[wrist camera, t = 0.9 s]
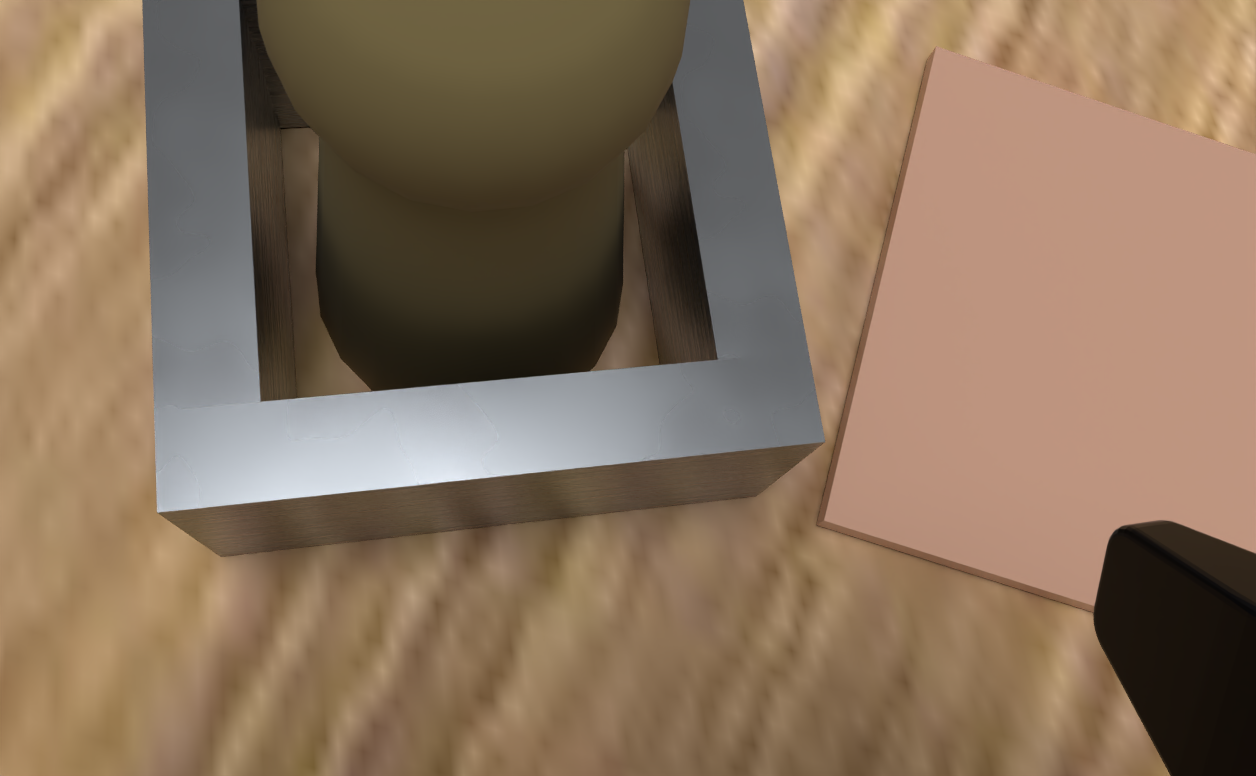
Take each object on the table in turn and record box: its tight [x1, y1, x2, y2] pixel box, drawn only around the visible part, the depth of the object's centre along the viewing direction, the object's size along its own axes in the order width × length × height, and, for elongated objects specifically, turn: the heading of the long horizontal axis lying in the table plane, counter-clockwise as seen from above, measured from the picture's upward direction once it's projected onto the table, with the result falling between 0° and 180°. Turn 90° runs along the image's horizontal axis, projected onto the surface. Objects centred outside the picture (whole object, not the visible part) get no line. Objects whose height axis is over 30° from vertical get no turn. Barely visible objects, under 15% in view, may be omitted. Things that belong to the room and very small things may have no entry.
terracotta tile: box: [817, 46, 1256, 612], centre depth 24 cm, size 11×11×1 cm
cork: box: [256, 0, 690, 391], centre depth 18 cm, size 6×6×11 cm
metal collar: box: [142, 0, 825, 557], centre depth 21 cm, size 10×10×4 cm
